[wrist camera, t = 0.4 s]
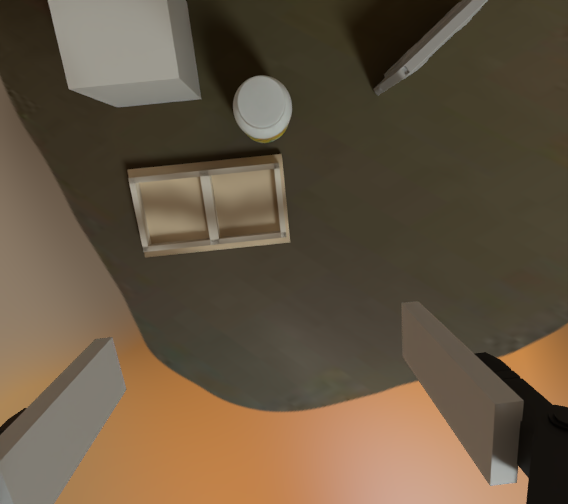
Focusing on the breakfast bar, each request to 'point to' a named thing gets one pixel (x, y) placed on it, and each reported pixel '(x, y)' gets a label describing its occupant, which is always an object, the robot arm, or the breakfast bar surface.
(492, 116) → the breakfast bar surface
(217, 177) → the beige divided tray
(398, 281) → the breakfast bar surface
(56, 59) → the breakfast bar surface
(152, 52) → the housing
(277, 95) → the supplement bottle
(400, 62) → the cassette
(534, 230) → the breakfast bar surface
